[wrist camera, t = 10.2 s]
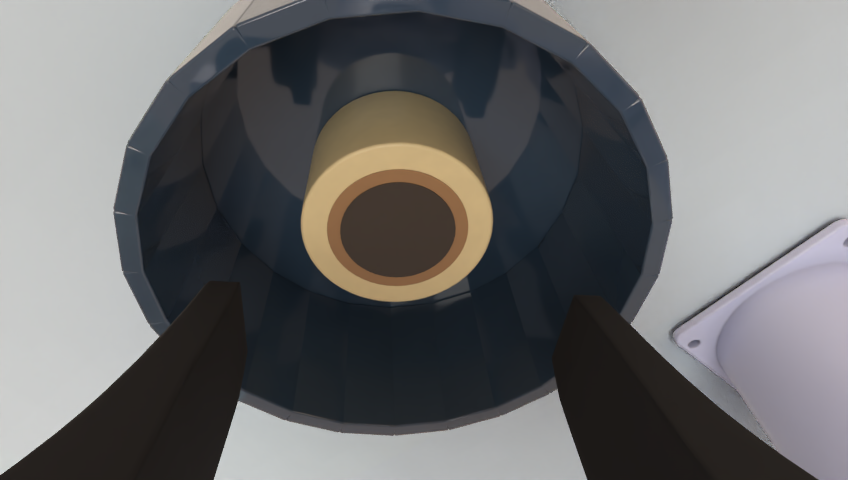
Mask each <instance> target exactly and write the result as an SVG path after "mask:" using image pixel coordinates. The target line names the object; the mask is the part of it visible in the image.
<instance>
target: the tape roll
mask: <svg viewBox="0 0 848 480" xmlns="http://www.w3.org/2000/svg"><path fill="white" fill-rule="evenodd" d="M492 229H493V210H492V206H491V201H490V198H489V195H488V192H487V188H486V185H485V182H484V179H483V176H482V173H481V170H480V167H479V164H478V161H477V158H476V155H475V151H474V148H473V145H472V142H471V140H470V137H469V135H468V133H467V131H466V129H465V128H464V126H463V125H462V123H461V122H460V121H459V119H458V118H457V117H456V116H455V115H454V114H453V113H452V112H451V111H450V110H448V109H447V108H446V107H444V106H443V105H441V104H440V103H438V102H436V101H434V100H432V99H430V98H428V97H425V96H422V95H420V94H415V93H411V92H403V91H384V92H378V93H373V94H369V95H366V96H363V97H360V98H358V99H356V100H354V101H352V102H350V103H348V104H347V105H345V106H344V107H342V108H341V109H340V110H339V111H337V112H336V113H335V114H334V115H333V116H332V117H331V118H330V119H329V120H328V122H327V123H326V124H325V126H324V127H323V129H322V130H321V132H320V134H319V136H318V138H317V141H316V144H315V147H314V152H313V157H312V162H311V167H310V172H309V177H308V182H307V187H306V192H305V197H304V202H303V207H302V213H301V233H302V239H303V242H304V245H305V248H306V250H307V252H308V254H309V256H310V258H311V260H312V261H313V263H314V264H315V266H316V267H317V268H318V269H319V270H320V271H321V273H322V274H323V275H324V276H325V277H327V278H328V279H329V280H330V281H331V282H333V283H334V284H336V285H337V286H339V287H340V288H342V289H344V290H346V291H348V292H350V293H352V294H355V295H358V296H360V297H364V298H368V299H372V300H378V301H387V302H403V301H412V300H418V299H422V298H426V297H430V296H432V295H435V294H438V293H440V292H442V291H444V290H446V289H449V288H450V287H452V286H453V285H455V284H457V283H458V282H459V281H461V280H462V279H463V278H465V277H466V276H467V275H468V274H469V273H470V272H471V271H472V270H473V269H474V268H475V266H476V265H477V264H478V263H479V261H480V260H481V258H482V256H483V255H484V253H485V251H486V249H487V246H488V244H489V242H490V238H491V234H492Z"/></svg>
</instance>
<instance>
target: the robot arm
mask: <svg viewBox="0 0 848 480" xmlns="http://www.w3.org/2000/svg"><path fill="white" fill-rule="evenodd" d="M673 339H674V340H675V342H676V344H677V345H678V346H680V347H681V348H682V349H684V350H685V351H686V352H687V353H689V354H690V355H691V356H693V357H694V358H695V359H697V360H698V361H699V362H701V363H702V364H703V365H704V366H706V367H707V368H708V369H710V370H711V371H712V372H714V373H715V374H716V375H718V376H719V377H720V378H722V379H723V380H724V381H725V382H727V383H728V384H729V385H731V386H732V387H733V388H735V389H736V390H737V391H738V393H739V394H740V396H741V397H742V399H743V400H744V402H745V403H746V405H747V406H748V408H749V409H750V411H751V412H752V414H753V415H754V417H755V418H756V420H757V421H758V423H759V424H760V426H761V427H762V429H763V430H764V432H765V433H766V435H767V436H768V438H769V439H770V441H771V442H772V444H773V445H774V447H775V448H776V450H777V451H778V452H777V451H776V450H774V449H773V448H771V447H770V446H769V445H767V444H766V443H764V442H763V441H762V440H760V439H759V438H758V437H756V436H755V435H754V434H753V433H751V432H750V431H749V430H747V429H746V428H745V427H743V426H742V425H741V424H739V423H738V422H737V421H736V420H734V419H733V418H732V417H730V416H729V415H728V414H727V413H725V412H724V411H723V410H722V409H721V408H719V407H718V406H717V405H716V404H714V403H713V402H712V401H711V400H710V399H709V398H708V397H706V396H705V395H704V394H703V393H702V392H701V391H700V390H698V389H697V388H696V387H695V386H694V385H693V384H691V383H690V382H689V381H688V380H687V379H686V378H685V377H684V376H683V375H682V374H680V373H679V372H678V371H677V370H676V369H675V368H674V367H673V366H672V365H671V364H670V363H669V362H668V361H666V360H665V359H664V358H663V357H662V356H661V355H660V354H659V353H658V352H657V351H656V350H655V349H654V348H653V347H652V346H651V345H650V344H649V343H648V342H647V341H646V340H645V339H644V338H643V337H642V336H641V335H640V334H639V333H638V332H637V331H636V330H635V329H634V328H633V327H632V326H631V325H630V324H629V323H628V322H627V321H626V320H625V319H624V318H623V317H622V316H621V315H620V314H619V313H618V312H617V311H616V310H615V309H614V308H613V307H612V306H611V305H610V304H609V303H608V302H606V301H605V300H604V299H603V298H602V297H601V296H595V295H574V296H573V299H572V302H571V305H570V307H569V310H568V313H567V316H566V319H565V322H564V324H563V327H562V330H561V333H560V336H559V339H558V341H557V344H556V347H555V350H554V353H553V356H552V363H553V368H554V374H555V379H556V384H557V388H558V393H559V397H560V401H561V405H562V408H563V411H564V414H565V417H566V419H567V422H568V425H569V428H570V431H571V434H572V437H573V440H574V443H575V446H576V448H577V451H578V454H579V457H580V460H581V463H582V466H583V468H584V471H585V474H586V477H587V480H848V219H841V220H837V221H835V222H833V223H832V224H830V225H829V226H827V227H826V228H824V229H823V230H822V231H820V232H819V233H817V234H816V235H814V236H813V237H811V238H810V239H808V240H807V241H805V242H804V243H802V244H801V245H799V246H798V247H796V248H795V249H794V250H792V251H791V252H789V253H788V254H786V255H785V256H783V257H782V258H780V259H779V260H777V261H776V262H774V263H773V264H771V265H770V266H769V267H767V268H766V269H764V270H763V271H761V272H760V273H758V274H757V275H755V276H754V277H752V278H751V279H749V280H748V281H746V282H745V283H743V284H742V285H741V286H739V287H738V288H736V289H735V290H733V291H732V292H730V293H729V294H727V295H726V296H724V297H723V298H721V299H720V300H718V301H717V302H716V303H714V304H713V305H711V306H710V307H708V308H707V309H705V310H704V311H702V312H701V313H699V314H698V315H696V316H695V317H693V318H692V319H690V320H689V321H688V322H686V323H685V324H683V325H682V326H680V327H679V328H677V329H676V330H675V331H674V333H673ZM247 352H248V350H247V341H246V332H245V322H244V313H243V304H242V295H241V286H240V282H226V281H209V282H208V283H206V284H205V285H204V286H203V287H202V289H201V290H200V291H199V292H198V293H197V295H196V296H195V297H194V298H193V299H192V301H191V302H190V303H189V304H188V305H187V306H186V308H185V309H184V310H183V311H182V312H181V313H180V315H179V316H178V317H177V318H176V319H175V320H174V321H173V322H172V324H171V325H170V326H169V327H168V328H167V329H166V330H165V331H164V332H163V333H162V334H161V336H160V337H159V338H158V339H157V340H156V341H155V342H154V343H153V344H152V345H151V346H150V347H149V348H148V349H147V350H146V352H145V353H144V354H143V355H142V356H141V357H140V358H139V359H138V360H137V361H136V362H135V363H134V364H133V365H132V366H131V367H130V368H129V369H127V370H126V371H125V372H124V373H123V374H122V375H121V376H120V377H119V378H118V379H117V380H116V381H115V382H114V383H113V384H112V385H111V386H110V387H109V388H108V389H107V390H106V391H105V392H103V393H102V394H101V395H100V396H99V397H98V398H97V399H96V400H95V401H93V402H92V403H91V404H90V405H89V406H88V407H87V408H86V409H84V410H83V411H82V412H81V413H80V414H79V415H77V416H76V417H75V418H74V419H73V420H71V421H70V422H69V423H68V424H67V425H65V426H64V427H63V428H62V429H61V430H59V431H58V432H57V433H56V434H54V435H53V436H52V437H50V438H49V439H48V440H47V441H45V442H44V443H43V444H41V445H40V446H39V447H37V448H36V449H35V450H34V451H32V452H31V453H30V454H28V455H27V456H26V457H24V458H23V459H22V460H21V461H19V462H18V463H16V464H15V465H14V466H12V467H11V468H10V469H8V470H7V471H6V472H4V473H3V474H1V475H0V480H214V477H215V473H216V470H217V467H218V464H219V461H220V457H221V454H222V451H223V448H224V445H225V441H226V438H227V435H228V432H229V429H230V425H231V422H232V419H233V416H234V412H235V409H236V406H237V402H238V399H239V396H240V391H241V385H242V380H243V375H244V369H245V363H246V358H247Z"/></svg>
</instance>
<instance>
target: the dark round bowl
mask: <svg viewBox="0 0 848 480" xmlns="http://www.w3.org/2000/svg"><path fill="white" fill-rule="evenodd" d="M384 91H403V92H411V93H415V94H420V95H422V96H425V97H428V98H430V99H432V100H434V101H436V102H438V103H440V104H441V105H443V106H444V107H446V108H447V109H448V110H450V111H451V112H452V113H453V114H454V115H455V116H456V117H457V118H458V119H459V121H460V122H461V123H462V125H463V126H464V128H465V129H466V131H467V133H468V135H469V137H470V140H471V142H472V145H473V148H474V151H475V155H476V158H477V161H478V164H479V167H480V170H481V173H482V176H483V179H484V182H485V185H486V188H487V192H488V195H489V198H490V201H491V206H492V210H493V229H492V234H491V238H490V242H489V244H488V246H487V249H486V251H485V253H484V255H483V256H482V258H481V260H480V261H479V263H478V264H477V265H476V266H475V268H474V269H473V270H472V271H471V272H470V273H469V274H468V275H467V276H466V277H465V278H463V279H462V280H461V281H459V282H458V283H457V284H455V285H453V286H452V287H450V288H449V289H446V290H444V291H442V292H440V293H438V294H435V295H432V296H430V297H426V298H422V299H418V300H412V301H403V302H387V301H378V300H372V299H368V298H364V297H360V296H358V295H355V294H352V293H350V292H348V291H346V290H344V289H342V288H340V287H339V286H337V285H336V284H334V283H333V282H331V281H330V280H329V279H328V278H327V277H325V276H324V275H323V274H322V273H321V271H320V270H319V269H318V268H317V267H316V266H315V264H314V263H313V261H312V260H311V258H310V256H309V254H308V252H307V250H306V248H305V245H304V242H303V239H302V233H301V213H302V207H303V202H304V197H305V192H306V187H307V182H308V177H309V172H310V167H311V162H312V157H313V152H314V147H315V144H316V141H317V138H318V136H319V134H320V132H321V130H322V129H323V127H324V126H325V124H326V123H327V122H328V120H329V119H330V118H331V117H332V116H333V115H334V114H335V113H336V112H337V111H339V110H340V109H341V108H342V107H344V106H345V105H347V104H348V103H350V102H352V101H354V100H356V99H358V98H360V97H363V96H366V95H369V94H373V93H378V92H384ZM672 218H673V216H672V203H671V191H670V178H669V165H668V159H667V155H666V153H665V151H664V148H663V146H662V144H661V142H660V139H659V137H658V135H657V133H656V130H655V128H654V126H653V123H652V121H651V119H650V117H649V114H648V112H647V110H646V108H645V105H644V103H643V101H642V99H641V98H640V97H639V94H638V93H637V92H636V91H635V90H634V89H633V88H632V87H631V86H630V85H629V84H628V83H627V82H626V81H625V80H624V79H623V77H622V76H621V75H620V74H619V73H618V72H617V71H616V70H615V69H614V68H613V67H612V66H611V65H610V64H609V63H608V62H607V61H606V59H605V58H604V57H603V56H602V55H601V54H600V53H599V52H598V51H597V50H596V49H595V48H594V47H593V46H592V45H591V44H590V43H589V42H588V41H587V40H586V39H585V38H584V37H583V36H582V35H581V34H580V33H579V32H578V31H576V30H575V29H574V28H573V27H572V26H571V25H570V24H569V23H568V22H567V21H566V20H565V19H563V18H562V17H561V16H560V15H559V14H558V13H557V12H556V11H555V10H554V9H553V8H552V7H550V6H549V5H548V4H547V3H546V2H545V1H544V0H239V1H238V2H237V3H236V4H235V5H233V6H232V7H231V8H230V9H229V10H228V11H227V12H226V13H225V14H224V15H223V17H222V18H221V19H220V20H219V21H218V22H217V23H216V24H215V26H214V27H213V28H212V29H211V30H210V31H209V32H208V34H207V35H206V36H205V37H204V38H203V39H202V40H201V41H200V43H199V44H198V45H197V46H196V47H195V48H194V49H193V50H192V52H191V53H190V54H189V55H188V56H187V57H186V58H185V60H184V61H183V62H182V63H181V64H180V65H179V66H178V67H177V69H176V70H175V71H174V72H173V73H172V74H171V75H170V76H169V78H168V79H167V80H166V81H165V83H164V84H163V86H162V87H161V89H160V91H159V92H158V94H157V95H156V97H155V99H154V100H153V102H152V103H151V105H150V107H149V108H148V110H147V112H146V113H145V115H144V116H143V118H142V120H141V121H140V123H139V124H138V126H137V128H136V129H135V131H134V132H133V134H132V136H131V137H130V139H129V140H128V144H127V146H126V149H125V154H124V159H123V164H122V169H121V174H120V179H119V183H118V188H117V193H116V198H115V203H114V219H115V226H116V233H117V240H118V246H119V253H120V260H121V266H122V271H123V274H124V276H125V278H126V280H127V282H128V284H129V286H130V288H131V290H132V292H133V294H134V296H135V298H136V300H137V302H138V304H139V306H140V308H141V310H142V312H143V314H144V316H145V318H146V320H147V322H148V323H149V324H150V327H151V328H152V329H153V330H154V331H155V332H156V333H157V334H158V335H159V336H161V334H162V333H163V332H164V331H165V330H166V329H167V328H168V327H169V326H170V325H171V324H172V322H173V321H174V320H175V319H176V318H177V317H178V316H179V315H180V313H181V312H182V311H183V310H184V309H185V308H186V306H187V305H188V304H189V303H190V302H191V301H192V299H193V298H194V297H195V296H196V295H197V293H198V292H199V291H200V290H201V289H202V287H203V286H204V285H205V284H206V283H208V282H209V281H226V282H240V286H241V295H242V304H243V313H244V322H245V332H246V341H247V350H248V352H247V358H246V363H245V369H244V375H243V380H242V385H241V391H240V396H239V399H238V401H240V402H242V403H245V404H247V405H250V406H252V407H254V408H257V409H259V410H262V411H264V412H266V413H269V414H271V415H273V416H276V417H278V418H281V419H283V420H287V421H290V422H294V423H299V424H303V425H308V426H312V427H317V428H321V429H326V430H330V431H334V432H341V433H355V434H373V435H390V436H393V435H394V434H395V435H406V434H416V433H426V432H435V431H445V430H448V429H449V430H451V429H455V428H458V427H462V426H466V425H470V424H473V423H477V422H481V421H485V420H488V419H492V418H496V417H499V416H500V415H504V414H507V413H509V412H511V411H513V410H515V409H518V408H520V407H522V406H524V405H526V404H529V403H531V402H533V401H535V400H537V399H539V398H542V397H544V396H546V395H548V394H549V393H552V392H553V391H555V390H556V389H557V384H556V379H555V374H554V368H553V363H552V356H553V353H554V350H555V347H556V344H557V341H558V339H559V336H560V333H561V330H562V327H563V324H564V322H565V319H566V316H567V313H568V310H569V307H570V305H571V302H572V299H573V296H574V295H595V296H601V297H602V298H603V299H604V300H605V301H606V302H608V303H609V304H610V305H611V306H612V307H613V308H614V309H615V310H616V311H617V312H618V313H619V314H620V315H621V316H622V317H623V318H624V319H625V320H626V321H627V322H628V323H629V324H631V322H632V321H633V320H634V318H635V316H636V315H637V313H638V311H639V309H640V308H641V306H642V304H643V302H644V301H645V299H646V297H647V295H648V294H649V292H650V290H651V288H652V286H653V285H654V283H655V281H656V279H657V278H658V274H659V273H660V269H661V265H662V261H663V257H664V252H665V248H666V244H667V240H668V236H669V232H670V228H671V224H672Z"/></svg>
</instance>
